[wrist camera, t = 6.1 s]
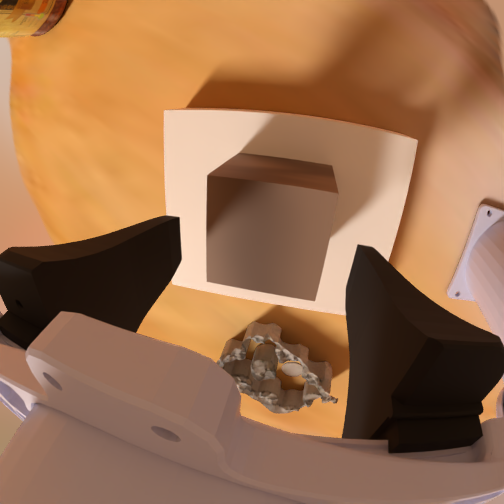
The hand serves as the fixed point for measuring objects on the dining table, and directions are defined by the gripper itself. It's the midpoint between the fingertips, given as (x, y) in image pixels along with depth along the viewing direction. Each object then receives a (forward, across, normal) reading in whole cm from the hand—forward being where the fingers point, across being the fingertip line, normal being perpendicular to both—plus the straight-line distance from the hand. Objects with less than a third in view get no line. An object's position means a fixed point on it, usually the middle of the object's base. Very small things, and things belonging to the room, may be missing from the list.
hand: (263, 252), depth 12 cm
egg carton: (+9, -2, +17) cm, 19 cm away
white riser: (+8, 0, +1) cm, 9 cm away
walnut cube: (+6, 0, 0) cm, 6 cm away
